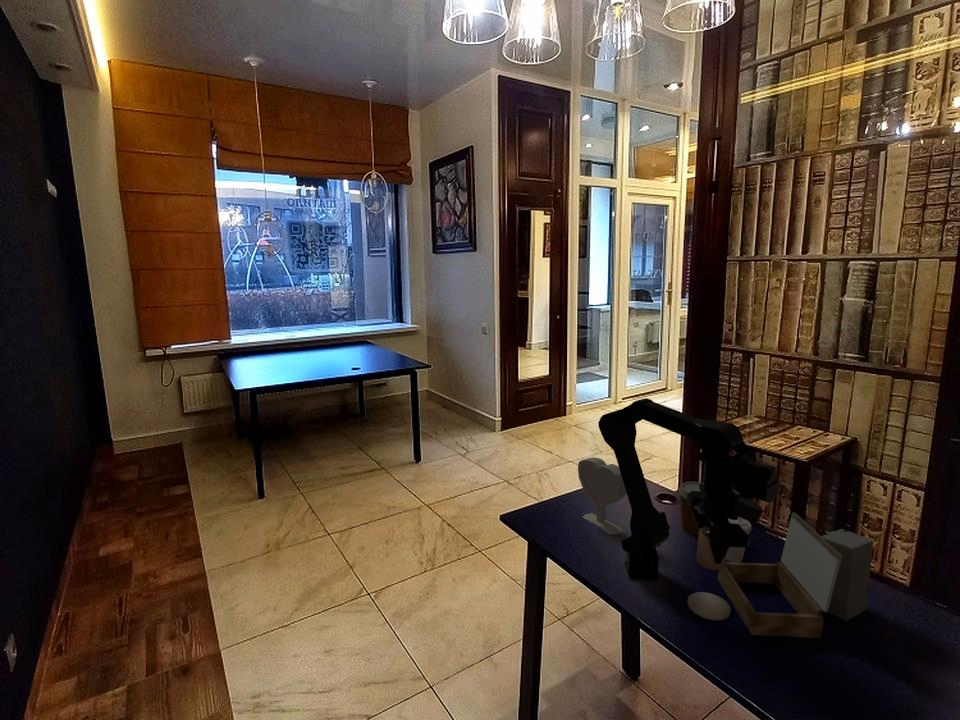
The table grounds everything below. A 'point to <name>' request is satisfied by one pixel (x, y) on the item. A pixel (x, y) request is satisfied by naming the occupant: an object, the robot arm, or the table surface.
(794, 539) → the grey angled plate
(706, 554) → the clay pot
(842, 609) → the skincare box
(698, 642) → the table surface
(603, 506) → the heart sculpture
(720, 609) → the cream round disc
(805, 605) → the open wooden box frame
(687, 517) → the disposable coffee cup
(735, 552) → the smoothie
